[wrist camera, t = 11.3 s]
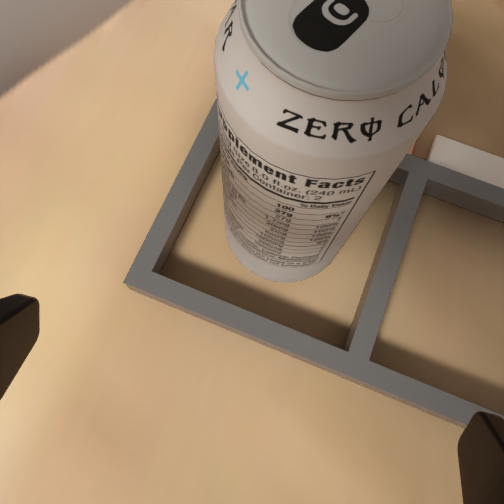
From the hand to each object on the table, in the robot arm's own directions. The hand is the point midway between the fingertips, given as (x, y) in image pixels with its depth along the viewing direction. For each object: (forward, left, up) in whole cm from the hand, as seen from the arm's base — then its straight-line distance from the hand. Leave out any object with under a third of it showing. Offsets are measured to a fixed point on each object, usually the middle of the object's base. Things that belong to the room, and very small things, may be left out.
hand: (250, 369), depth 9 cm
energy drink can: (+5, -6, -14) cm, 16 cm away
